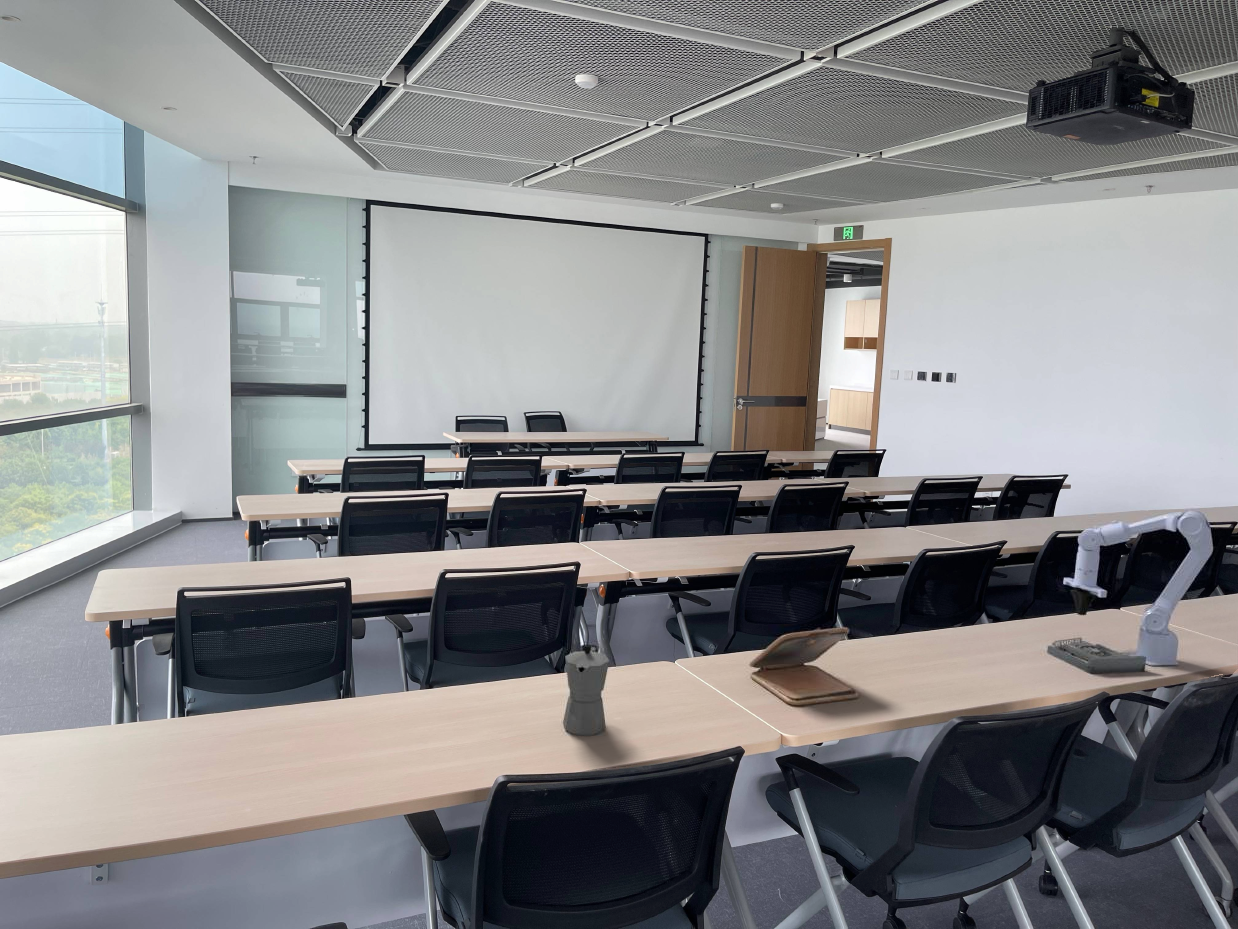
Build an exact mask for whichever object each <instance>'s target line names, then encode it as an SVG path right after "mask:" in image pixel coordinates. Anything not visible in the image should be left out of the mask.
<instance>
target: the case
mask: <svg viewBox="0 0 1238 929" xmlns="http://www.w3.org/2000/svg"><path fill="white" fill-rule="evenodd" d="M849 633H850V629H849V627H845V626H843V627H835V628H826V629H817V630H807V631H799V632H791V633H786V634H783V635H781V636H779V637H778V638H777V639H776V640H774V641H773V642H772V643H771V644H770V645H768V646H767V647H766V648H765V649H764V650H763V651H762V652H760V653H758V655H757V656H756V657H755V658H754V659H752V660H751V661H750V662H749V664H748V665H749V667H750V668H755V669H758V670H757V671H752V672H751V673H750V674H749V675H750V678H751V679H752V680H754V681H755V682H756V683H758V684H759V685H760V686H762V687H763V688H765V689H767V690H768V691H769V692H770V693H772V694H774V696H777V698H779V699H781V700H782V702H784V703H786V704H788V705H791V706H806V705H814V704H823V703H829V702H830V703H831V702H839V701H848V700H854V699H857V698H858V697H859V693H858V692H857V691H856V690H855V689H854V688H853V687H851V686H849V685H848V684H846V683H844V682H843V681H841V680H840V679H838V678H837V677H835V676H834V675H832V674H831V673H828V672H827V671H826V670H823V669H822V668H820V667H818V666H816V665H812V664H809V663H812V662H813V663H814V661H816V660H818V659H819V658H820V657H822V656H824V654H826V653H827V652H828V651H830V649H832V648H833V647H834V646H836V644H838V643H839V642H841V641H842V640H843V639H844V638H845V637H846V636H848V634H849Z"/></svg>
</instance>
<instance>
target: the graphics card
mask: <svg viewBox="0 0 1238 929" xmlns="http://www.w3.org/2000/svg"><path fill="white" fill-rule="evenodd" d="M1051 646H1053V647H1055V648H1057V649H1059V650H1061V651H1063V652H1066V653H1068V654H1070V655H1072V656H1074V657H1076V658H1078V659H1081V660H1083V661H1086V662H1088V660H1089V658H1099V657H1124V656H1121V655H1119V654H1116V653H1114V652H1111V651H1109V650H1106V649H1104V648H1101V647H1098V646H1096V644H1093V643H1091V642H1088V641H1086V640H1083V638H1082V637H1080V636H1079V637H1073V638H1067V639H1066V638H1065V639H1059V640H1054V641H1053V642H1052V643H1051Z"/></svg>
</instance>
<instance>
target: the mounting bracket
mask: <svg viewBox="0 0 1238 929" xmlns="http://www.w3.org/2000/svg"><path fill="white" fill-rule="evenodd" d="M1095 645H1096V646H1098V647H1101V648H1104V649H1106V650H1109V651H1111V652H1114V653H1116V654H1119V655H1121V656H1124V657H1099V658H1089V660H1088V661H1086V660H1083V659H1081V658H1079V657H1077V656H1074V655H1070V654H1069V652H1068V653H1067V651H1066V652H1064V651H1061V650H1059V649H1057V648H1055V647H1054V646H1052V645H1047V651H1046V652H1047V654H1049V655H1051V656H1053V657H1055V658H1057V659H1059V660H1062V661H1063V662H1065V663H1068V664H1070V665H1072V666H1074V667H1075V668H1078V669H1079V670H1081V671H1083V672H1086V673H1088V674H1091V675H1092V674H1093V675H1095V674H1096V675H1097V674H1098V675H1099V674H1115V673H1117V674H1118V673H1119V674H1120V673H1136V672H1137V673H1139V672H1140V673H1141V672H1142V673H1143V672H1145V670H1146V665H1147V664H1146V657H1144V656H1129V655H1128V656H1127V655H1125V654H1123V653H1120V652H1119V651H1116V650H1113V649H1111V648H1109V647H1106V646H1104V645H1102V644H1100V643H1096V644H1095Z"/></svg>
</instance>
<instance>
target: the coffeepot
mask: <svg viewBox="0 0 1238 929" xmlns="http://www.w3.org/2000/svg"><path fill="white" fill-rule="evenodd" d="M583 648H584V650H583V651H574V652H571V653H569V654H567V655H565V656H564V658H565V668H566V675H567V687H568V689H569V695H568V698H567V702H566V707H565V710H564V715H563V720H562V723H563V724H562V725H563V728H564V730H565V731H566V732H568V733H569V734H572V735H576V736H586V737H587V736H594V735H598V734H601V733H602V732H603V731H604V730H605V729H606V727H607V726H606V725H607V724H606V719H605V710H604V709H605V708H604V702H603V698H602V691H604V689H605V685H606V680H607V679H606V678H607V676H608V669H609V665H610V664H609V663H610V659H609V658H608V656H607V655H606V654H604V653H600V652H598V650H599V649H598V647H597V645H596V644H584V645H583Z"/></svg>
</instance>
